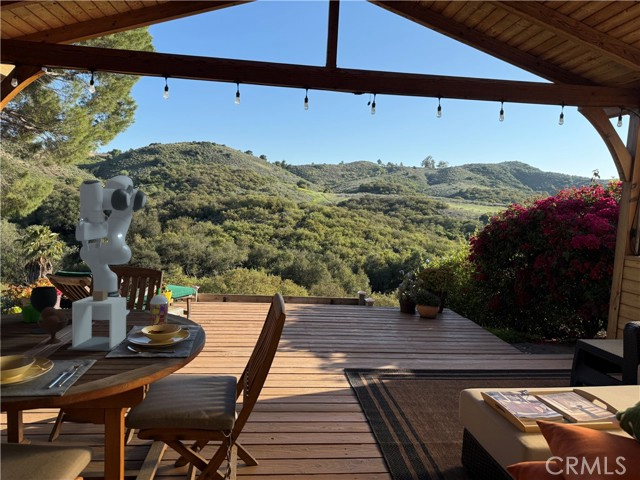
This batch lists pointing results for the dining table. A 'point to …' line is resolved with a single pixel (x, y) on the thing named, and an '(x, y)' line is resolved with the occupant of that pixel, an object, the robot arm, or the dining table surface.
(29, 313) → the bell pepper
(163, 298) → the smoothie
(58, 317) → the ice cream bowl
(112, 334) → the cover
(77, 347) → the mat
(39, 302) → the wine glass
